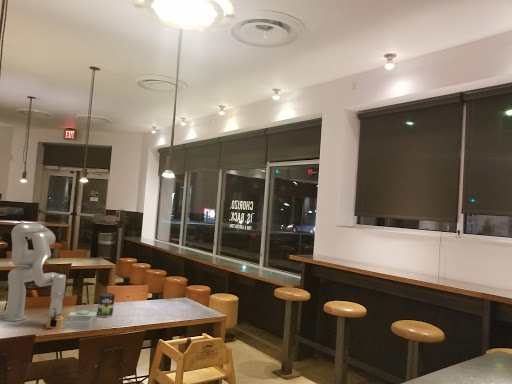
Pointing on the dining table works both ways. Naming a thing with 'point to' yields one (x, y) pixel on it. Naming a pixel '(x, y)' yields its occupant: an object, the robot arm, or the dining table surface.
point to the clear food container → (83, 314)
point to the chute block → (58, 323)
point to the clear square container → (79, 322)
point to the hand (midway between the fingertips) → (54, 324)
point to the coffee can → (105, 304)
